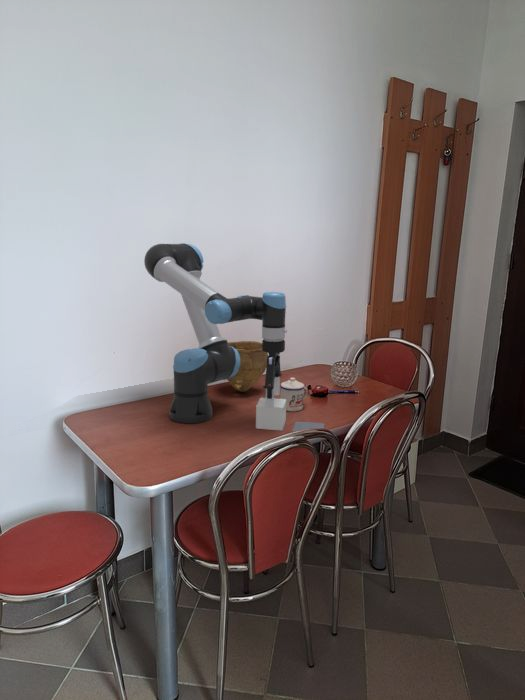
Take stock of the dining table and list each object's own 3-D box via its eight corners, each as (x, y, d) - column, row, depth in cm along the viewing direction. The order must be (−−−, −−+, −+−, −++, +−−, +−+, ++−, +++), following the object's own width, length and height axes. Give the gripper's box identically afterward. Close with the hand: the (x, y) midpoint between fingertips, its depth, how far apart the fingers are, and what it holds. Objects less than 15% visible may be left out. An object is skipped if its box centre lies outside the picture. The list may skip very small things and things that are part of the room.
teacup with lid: (290, 413, 184) (291, 382, 182) (274, 406, 191) (275, 377, 189) (314, 407, 191) (315, 377, 189) (298, 401, 198) (299, 372, 196)
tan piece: (208, 395, 203) (208, 346, 199) (230, 382, 221) (230, 337, 217) (255, 402, 195) (256, 352, 191) (274, 388, 214) (276, 342, 209)
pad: (292, 433, 166) (292, 432, 166) (295, 422, 176) (295, 421, 176) (323, 435, 164) (323, 434, 164) (324, 424, 174) (324, 423, 174)
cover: (255, 428, 169) (256, 405, 168) (260, 419, 178) (260, 397, 176) (282, 430, 168) (283, 407, 166) (285, 421, 177) (286, 399, 175)
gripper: (280, 347, 154) (278, 413, 158) (289, 333, 178) (288, 391, 182) (255, 346, 155) (255, 412, 159) (268, 332, 179) (267, 389, 183)
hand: (272, 401), depth 171 cm, fingers open, 13 cm apart
